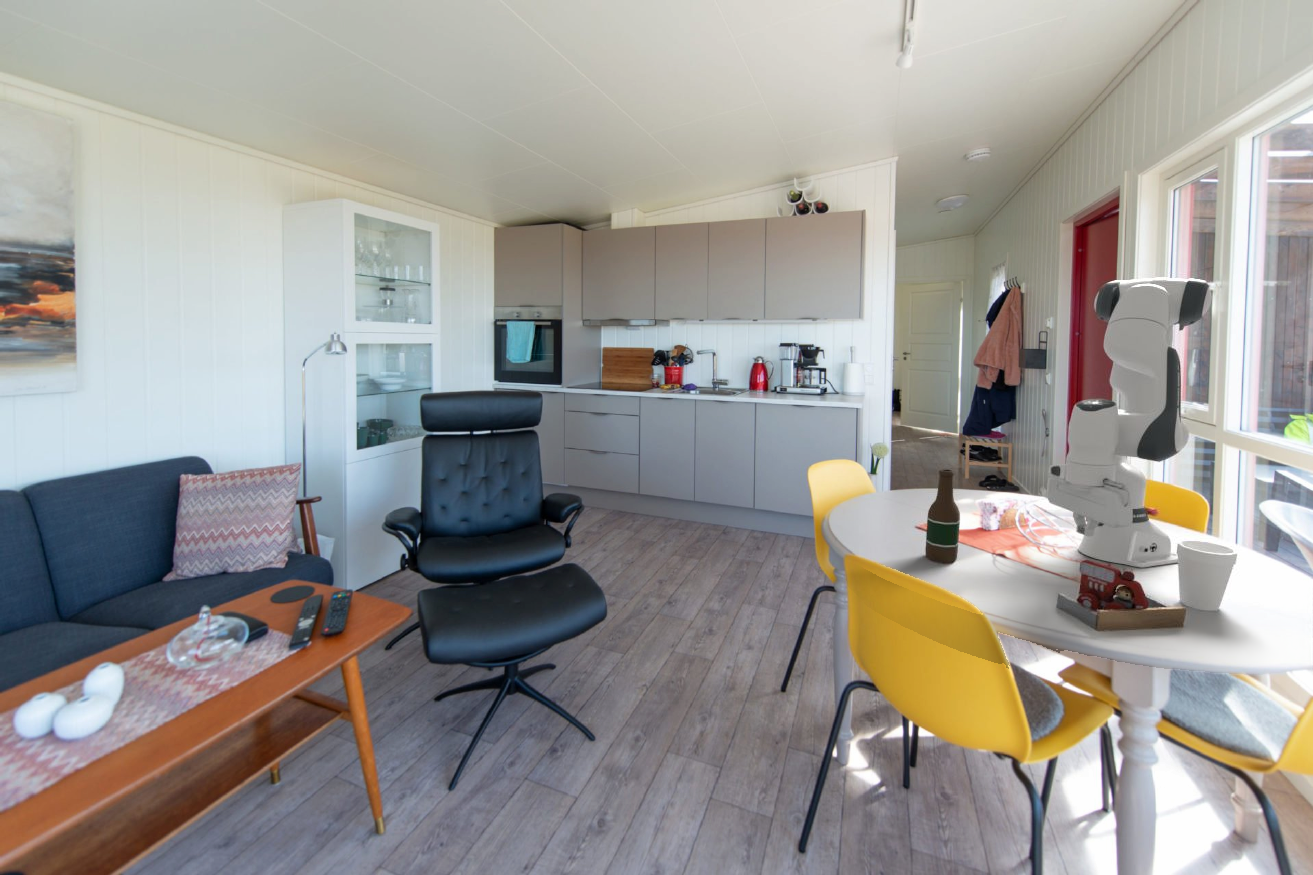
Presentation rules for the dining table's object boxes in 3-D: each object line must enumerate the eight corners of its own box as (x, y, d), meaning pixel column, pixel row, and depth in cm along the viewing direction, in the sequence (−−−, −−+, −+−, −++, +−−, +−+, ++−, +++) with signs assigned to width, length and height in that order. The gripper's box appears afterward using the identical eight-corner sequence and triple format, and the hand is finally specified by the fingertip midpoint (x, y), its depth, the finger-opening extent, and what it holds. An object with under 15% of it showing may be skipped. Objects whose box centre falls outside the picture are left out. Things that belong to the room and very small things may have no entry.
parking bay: (1134, 602, 129) (1137, 585, 128) (1183, 626, 118) (1186, 608, 117) (1056, 606, 128) (1058, 588, 127) (1098, 630, 117) (1100, 611, 116)
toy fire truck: (1134, 631, 117) (1140, 581, 115) (1067, 606, 128) (1072, 561, 126) (1152, 623, 120) (1158, 574, 118) (1085, 600, 131) (1090, 555, 129)
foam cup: (1159, 596, 132) (1166, 540, 130) (1197, 594, 133) (1204, 538, 131) (1201, 615, 123) (1209, 555, 121) (1241, 613, 124) (1250, 553, 122)
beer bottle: (944, 565, 152) (950, 474, 148) (918, 556, 159) (923, 469, 155) (963, 560, 155) (970, 471, 152) (937, 551, 162) (943, 466, 158)
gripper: (1145, 484, 119) (1138, 549, 122) (1068, 463, 139) (1064, 519, 142) (1115, 486, 119) (1109, 552, 121) (1043, 465, 139) (1039, 521, 141)
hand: (1084, 534), depth 132 cm, fingers closed
